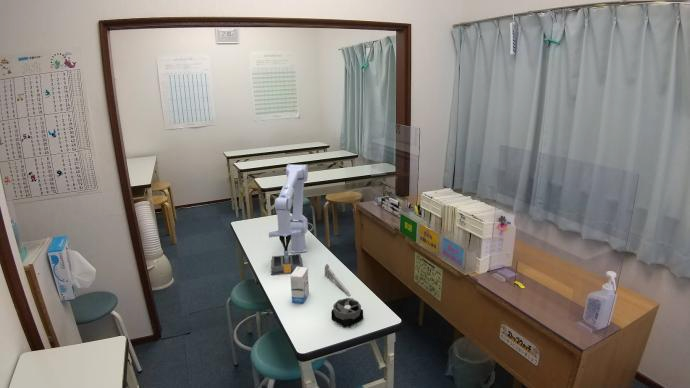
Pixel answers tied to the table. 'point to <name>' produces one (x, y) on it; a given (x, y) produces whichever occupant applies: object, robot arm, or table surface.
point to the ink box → (299, 284)
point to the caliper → (335, 279)
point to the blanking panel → (286, 257)
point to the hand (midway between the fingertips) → (285, 250)
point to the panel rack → (282, 268)
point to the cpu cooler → (347, 312)
